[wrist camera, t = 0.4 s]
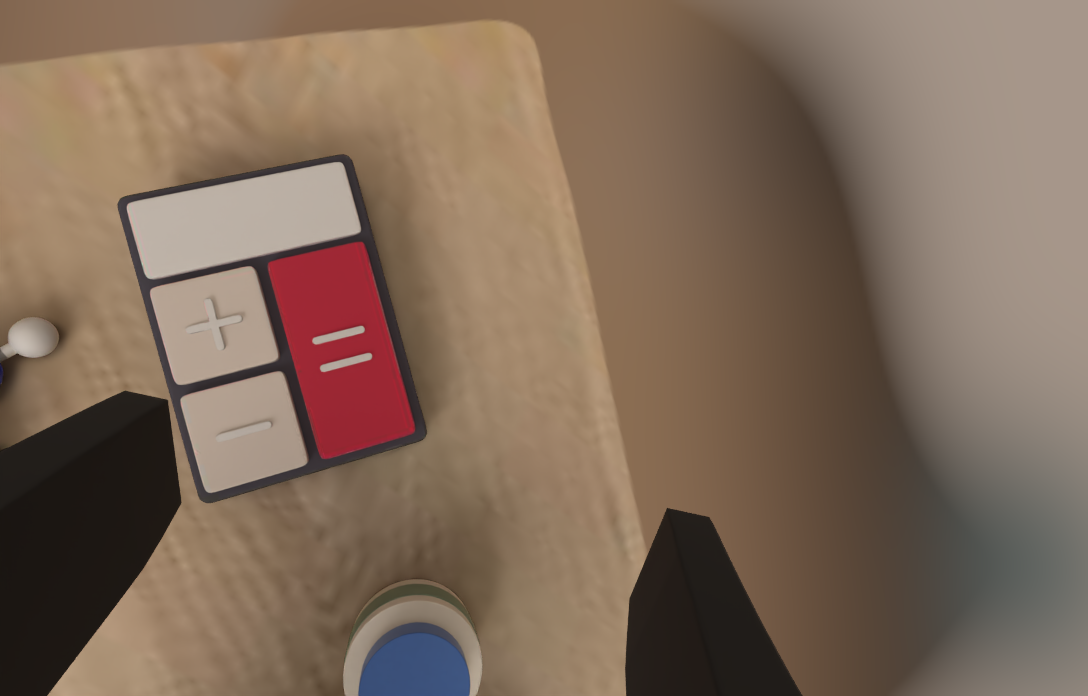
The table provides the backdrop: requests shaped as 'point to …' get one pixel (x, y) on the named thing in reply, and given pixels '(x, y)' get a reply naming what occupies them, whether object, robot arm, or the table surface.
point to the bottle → (413, 644)
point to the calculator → (272, 324)
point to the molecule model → (29, 339)
